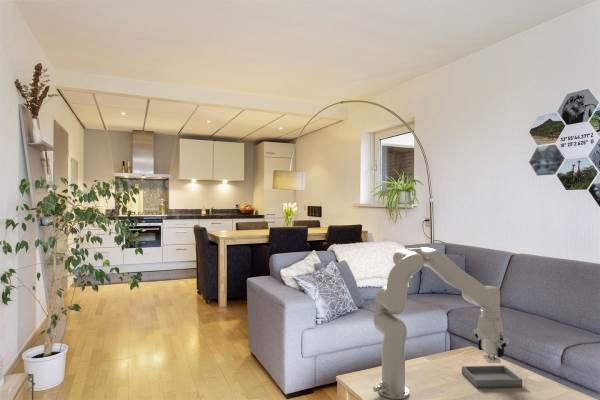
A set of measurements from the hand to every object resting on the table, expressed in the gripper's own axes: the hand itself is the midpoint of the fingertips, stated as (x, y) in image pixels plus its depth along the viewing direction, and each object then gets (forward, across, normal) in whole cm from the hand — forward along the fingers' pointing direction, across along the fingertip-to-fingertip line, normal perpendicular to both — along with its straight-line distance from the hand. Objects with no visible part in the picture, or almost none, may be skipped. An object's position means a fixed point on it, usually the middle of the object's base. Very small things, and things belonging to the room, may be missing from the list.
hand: (490, 352), depth 172 cm
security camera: (+3, 0, 0) cm, 3 cm away
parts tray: (+12, 0, 0) cm, 12 cm away
